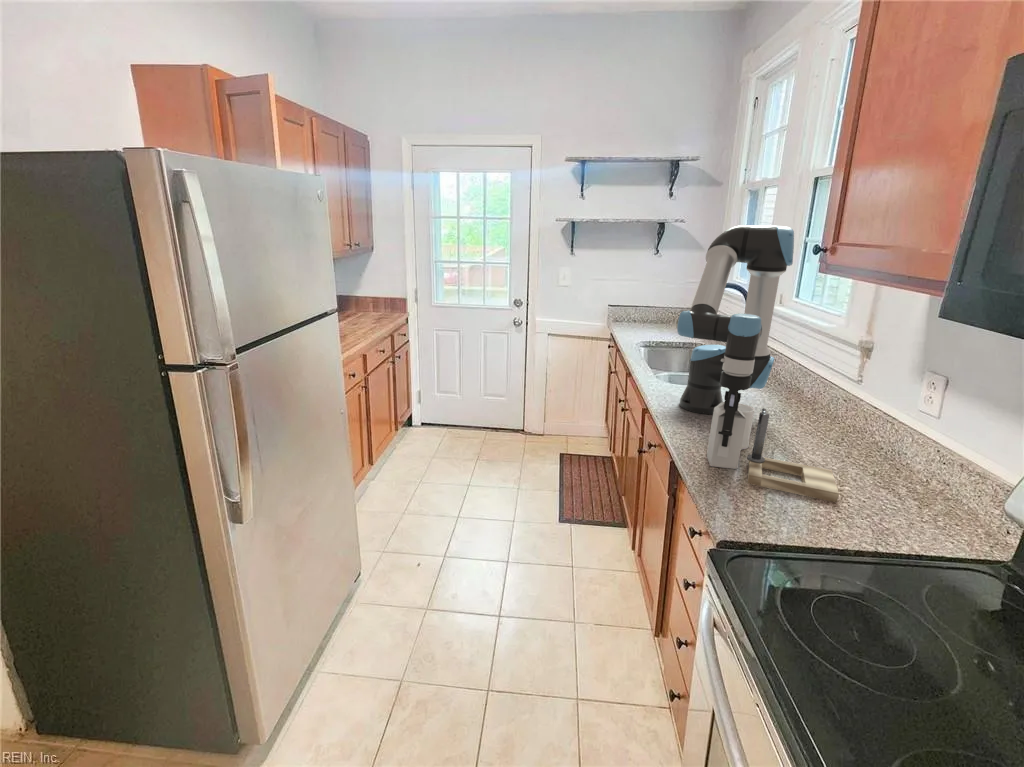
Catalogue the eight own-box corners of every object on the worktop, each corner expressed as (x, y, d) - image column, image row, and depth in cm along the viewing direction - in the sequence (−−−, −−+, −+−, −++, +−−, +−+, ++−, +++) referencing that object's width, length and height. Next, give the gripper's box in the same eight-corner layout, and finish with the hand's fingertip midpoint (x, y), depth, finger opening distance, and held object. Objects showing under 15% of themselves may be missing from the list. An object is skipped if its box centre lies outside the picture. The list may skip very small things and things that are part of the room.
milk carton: (732, 459, 146) (743, 396, 141) (737, 469, 140) (749, 404, 134) (706, 456, 148) (716, 394, 142) (710, 466, 141) (720, 402, 135)
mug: (710, 446, 154) (716, 409, 151) (705, 435, 162) (711, 400, 159) (751, 451, 152) (758, 413, 149) (745, 440, 160) (751, 404, 157)
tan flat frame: (748, 462, 144) (750, 454, 144) (829, 478, 137) (831, 470, 136) (747, 483, 132) (749, 474, 132) (836, 502, 124) (838, 493, 124)
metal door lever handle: (746, 459, 146) (755, 407, 142) (762, 462, 145) (773, 409, 140) (745, 469, 140) (755, 415, 135) (763, 472, 138) (773, 418, 134)
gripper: (724, 361, 147) (712, 433, 154) (718, 381, 128) (705, 461, 134) (752, 365, 144) (739, 437, 151) (751, 385, 125) (736, 468, 131)
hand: (723, 449), depth 143 cm, fingers open, 10 cm apart
